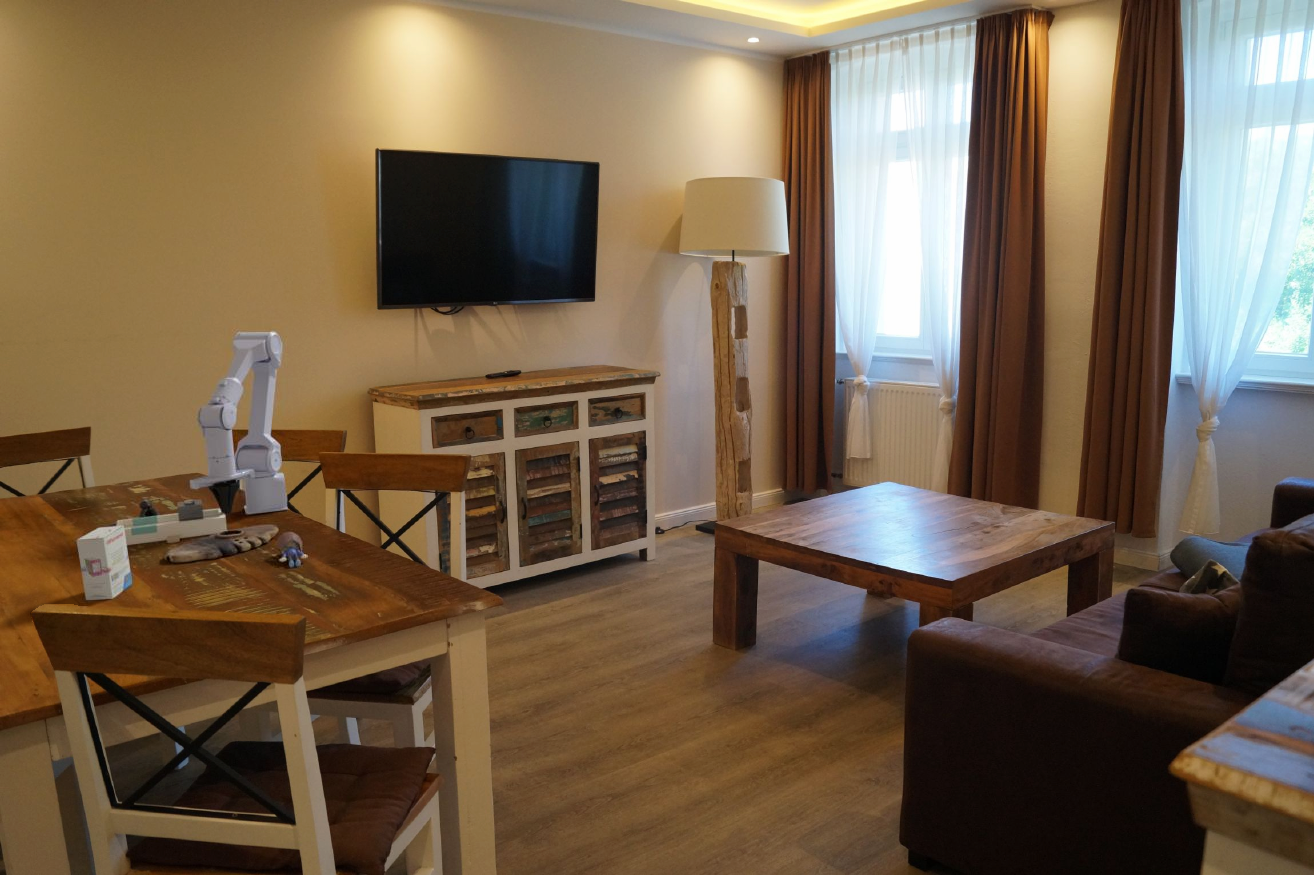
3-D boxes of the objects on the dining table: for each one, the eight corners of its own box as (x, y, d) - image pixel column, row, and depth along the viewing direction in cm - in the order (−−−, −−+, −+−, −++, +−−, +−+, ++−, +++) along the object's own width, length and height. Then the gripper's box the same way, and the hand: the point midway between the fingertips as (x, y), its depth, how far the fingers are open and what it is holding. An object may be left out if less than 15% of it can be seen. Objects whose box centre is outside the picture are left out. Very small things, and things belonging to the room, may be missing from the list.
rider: (203, 518, 225) (201, 497, 224) (204, 523, 220) (201, 501, 219) (179, 521, 222) (177, 499, 222) (179, 526, 218) (177, 504, 217)
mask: (146, 545, 202) (255, 513, 222) (149, 561, 203) (257, 528, 223) (184, 557, 194) (293, 522, 214) (187, 573, 194) (295, 537, 214)
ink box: (106, 585, 185) (98, 525, 183) (133, 584, 185) (126, 524, 183) (83, 600, 176) (75, 538, 174) (112, 599, 177) (104, 537, 175)
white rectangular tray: (224, 522, 229) (223, 507, 229) (227, 535, 218) (226, 520, 217) (119, 535, 220) (117, 520, 219) (116, 549, 208) (114, 534, 207)
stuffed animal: (189, 518, 229) (140, 498, 222) (168, 556, 227) (117, 536, 220) (175, 509, 238) (127, 489, 230) (154, 545, 236) (105, 526, 228)
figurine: (310, 573, 196) (302, 549, 206) (309, 549, 194) (300, 527, 204) (282, 577, 193) (274, 553, 203) (280, 554, 192) (273, 530, 202)
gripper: (240, 449, 230) (246, 504, 232) (180, 459, 219) (186, 517, 221) (257, 452, 226) (262, 508, 228) (196, 462, 214) (203, 522, 217)
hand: (226, 513), depth 224 cm, fingers closed, pressing on white rectangular tray
